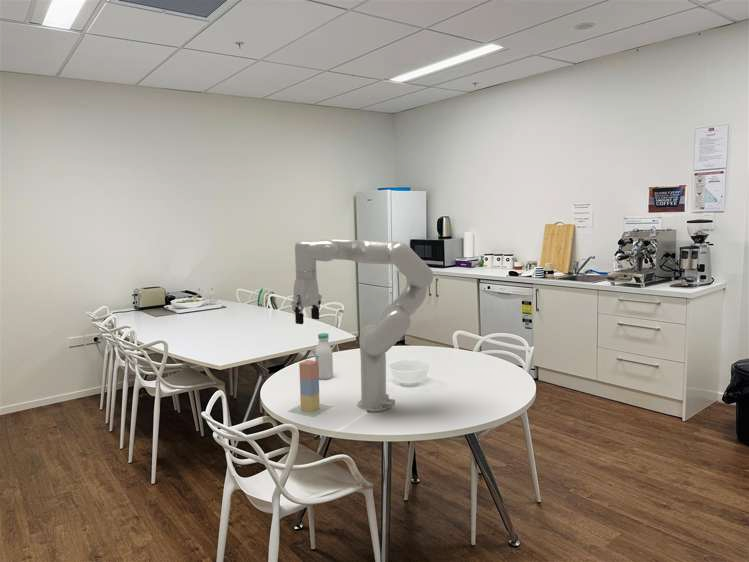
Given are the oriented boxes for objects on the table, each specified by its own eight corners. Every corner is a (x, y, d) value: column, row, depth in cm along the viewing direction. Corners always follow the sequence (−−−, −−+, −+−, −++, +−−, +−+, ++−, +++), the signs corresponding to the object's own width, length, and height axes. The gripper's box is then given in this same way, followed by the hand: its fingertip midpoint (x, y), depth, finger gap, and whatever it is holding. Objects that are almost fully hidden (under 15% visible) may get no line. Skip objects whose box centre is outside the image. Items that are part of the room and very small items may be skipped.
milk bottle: (335, 375, 248) (334, 332, 246) (329, 380, 241) (328, 336, 239) (319, 374, 251) (318, 331, 248) (313, 379, 243) (311, 335, 241)
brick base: (319, 407, 205) (319, 392, 205) (311, 412, 201) (311, 396, 200) (308, 405, 208) (308, 390, 207) (300, 409, 204) (300, 394, 203)
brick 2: (319, 392, 205) (318, 376, 204) (311, 396, 200) (310, 380, 200) (308, 390, 207) (307, 375, 206) (300, 394, 203) (299, 378, 202)
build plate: (332, 408, 207) (332, 406, 207) (313, 419, 196) (313, 416, 196) (306, 403, 213) (306, 401, 213) (287, 413, 202) (287, 411, 202)
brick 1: (318, 376, 204) (318, 361, 203) (310, 380, 200) (310, 364, 199) (307, 375, 206) (307, 359, 206) (299, 378, 202) (299, 363, 201)
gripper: (311, 272, 207) (313, 316, 210) (282, 277, 192) (284, 324, 195) (328, 273, 204) (329, 318, 206) (300, 278, 189) (301, 326, 191)
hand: (307, 321), depth 200 cm, fingers open, 9 cm apart
